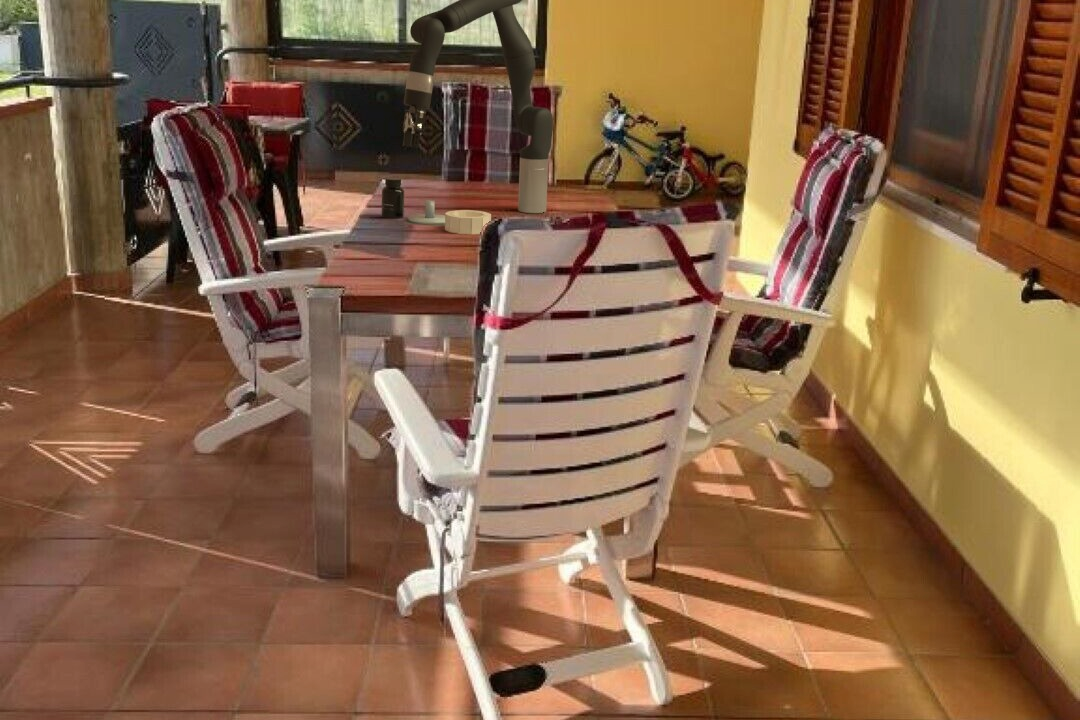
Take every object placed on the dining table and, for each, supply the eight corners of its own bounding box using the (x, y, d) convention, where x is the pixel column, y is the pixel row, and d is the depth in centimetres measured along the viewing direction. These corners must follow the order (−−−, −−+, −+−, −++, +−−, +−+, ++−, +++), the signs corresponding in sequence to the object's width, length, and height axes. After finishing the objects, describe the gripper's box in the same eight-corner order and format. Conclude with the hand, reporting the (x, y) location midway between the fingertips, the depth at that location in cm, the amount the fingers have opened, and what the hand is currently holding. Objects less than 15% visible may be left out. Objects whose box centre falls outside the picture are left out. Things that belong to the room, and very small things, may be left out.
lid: (412, 216, 324) (412, 196, 322) (454, 218, 324) (454, 198, 322) (404, 223, 312) (404, 203, 310) (447, 225, 311) (448, 205, 309)
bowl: (448, 225, 313) (449, 209, 312) (492, 228, 313) (492, 211, 311) (442, 234, 301) (442, 216, 299) (487, 236, 300) (488, 219, 299)
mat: (410, 217, 325) (410, 215, 325) (455, 219, 324) (455, 218, 324) (402, 225, 311) (402, 223, 311) (449, 227, 311) (449, 226, 311)
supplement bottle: (383, 220, 318) (382, 180, 314) (380, 216, 324) (380, 176, 321) (405, 219, 320) (405, 180, 316) (402, 215, 326) (402, 177, 323)
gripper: (438, 92, 296) (429, 150, 299) (424, 92, 309) (416, 148, 312) (412, 87, 293) (404, 146, 296) (399, 87, 306) (391, 143, 309)
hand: (410, 147), depth 304 cm, fingers open, 8 cm apart
